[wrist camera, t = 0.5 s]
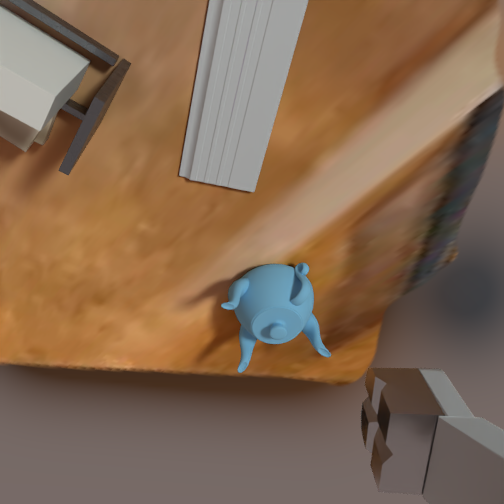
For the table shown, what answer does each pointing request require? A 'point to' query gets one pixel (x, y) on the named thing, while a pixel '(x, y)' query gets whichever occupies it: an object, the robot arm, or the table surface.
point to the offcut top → (17, 131)
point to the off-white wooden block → (35, 71)
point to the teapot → (274, 308)
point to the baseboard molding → (239, 88)
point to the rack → (105, 94)
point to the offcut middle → (45, 131)
